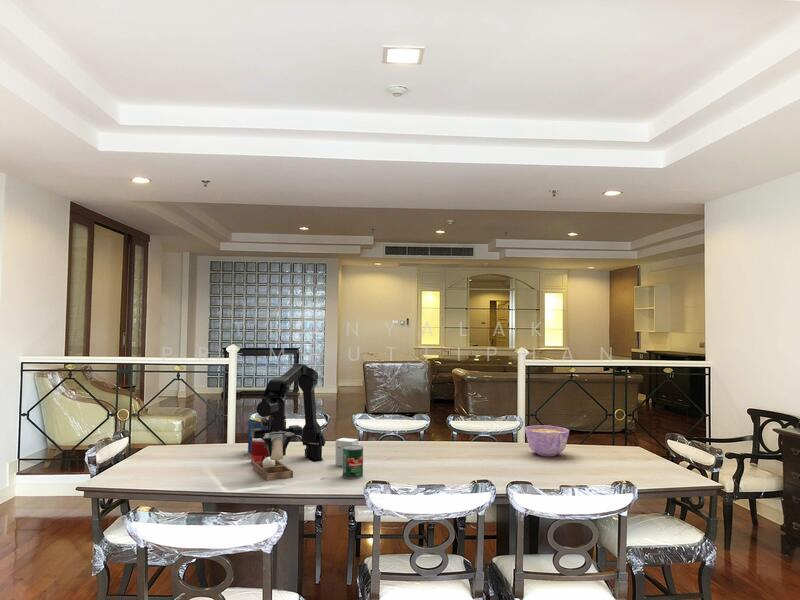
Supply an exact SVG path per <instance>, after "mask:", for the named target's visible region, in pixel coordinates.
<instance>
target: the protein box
mask: <svg viewBox="0 0 800 600" xmlns="http://www.w3.org/2000/svg"><path fill="white" fill-rule="evenodd" d="M262 418H267V420H268V419H269V416H267V417H261V416H259V417H254V418H253V417H251V418H248V431H247V432H248V435H247V439H248V440H247V453H248V454H251V447H252V439H253V438H252V437H251V430H252V429H256V428H262V429H264V430H266V427H261V419H262ZM285 427H286V428H287V420H286V419H285ZM270 438H271V441H272V440H273V439H274V438H280V439H282V441H283V436H282V434H273V435H270ZM286 454H287V449H286V450H285V453H284V454H283V456H285V455H286Z"/></svg>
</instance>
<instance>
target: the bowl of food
mask: <svg viewBox="0 0 800 600" xmlns="http://www.w3.org/2000/svg"><path fill="white" fill-rule="evenodd" d="M524 432H525V435H526V436H525V437H526V440H527V444H528V447H529V448H530V450H531V451H533V452H534V453H537V455H538V456H542V457H556V456H557V455H558V454H560V453H562V452H564V450H566V446H567V442H568V439H569V434H570V429H568V428H565V427H562V426H557V425H544V424H543V425H540V424H539V425H528V426H524Z"/></svg>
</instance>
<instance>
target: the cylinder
mask: <svg viewBox="0 0 800 600" xmlns="http://www.w3.org/2000/svg"><path fill="white" fill-rule="evenodd" d="M283 457H284V455H283V441H282V439H280V438H274V439H273V440H272V441H271V456H270V459H271V460H278V461H280V460H281V461H282V460H283V459H284V458H283Z"/></svg>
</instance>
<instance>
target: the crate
mask: <svg viewBox="0 0 800 600" xmlns="http://www.w3.org/2000/svg"><path fill="white" fill-rule="evenodd" d="M262 463H263V462H253V464H252V469H253V471H255V473H257V474H259V476H261V477H262V478H263V479H264V480H265V481H268V482H269V481H276V480H284V479H292V478H293V477H294V471H293V470H292V469H291V468H289V467H288V466H286V464H284V463H283V462H281V461H280V460H275V466H273V467H264V468H263V465H262Z"/></svg>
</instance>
